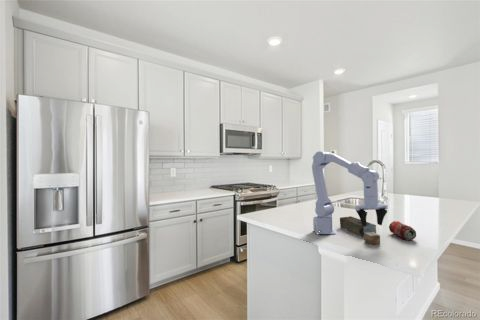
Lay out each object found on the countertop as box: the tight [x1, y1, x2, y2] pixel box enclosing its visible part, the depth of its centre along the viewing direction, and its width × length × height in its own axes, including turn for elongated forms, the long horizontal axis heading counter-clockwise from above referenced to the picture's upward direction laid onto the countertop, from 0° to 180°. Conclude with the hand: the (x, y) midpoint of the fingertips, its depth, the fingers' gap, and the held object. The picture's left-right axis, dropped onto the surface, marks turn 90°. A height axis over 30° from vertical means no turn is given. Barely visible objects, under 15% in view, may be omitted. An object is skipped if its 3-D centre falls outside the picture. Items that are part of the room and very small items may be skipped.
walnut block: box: [364, 232, 381, 246], centre depth 109 cm, size 4×4×4 cm
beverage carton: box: [339, 215, 377, 238], centre depth 127 cm, size 8×19×7 cm, turn 13°
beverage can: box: [388, 220, 417, 241], centre depth 116 cm, size 7×12×7 cm, turn 176°
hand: (371, 225), depth 109 cm, fingers open, 7 cm apart
